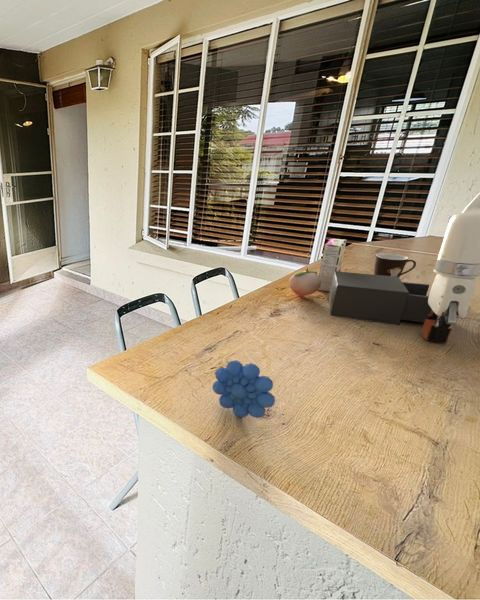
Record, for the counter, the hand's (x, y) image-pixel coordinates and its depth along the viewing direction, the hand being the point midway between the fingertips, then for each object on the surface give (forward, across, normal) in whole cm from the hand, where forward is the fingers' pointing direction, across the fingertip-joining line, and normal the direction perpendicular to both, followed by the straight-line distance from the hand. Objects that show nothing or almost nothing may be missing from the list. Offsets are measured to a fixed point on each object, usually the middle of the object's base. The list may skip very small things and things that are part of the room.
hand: (433, 336), depth 88 cm
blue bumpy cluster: (0, -51, +37) cm, 63 cm away
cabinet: (+1, +14, +13) cm, 19 cm away
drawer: (0, +14, +1) cm, 14 cm away
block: (0, 0, 0) cm, 0 cm away
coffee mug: (+1, +45, +2) cm, 45 cm away
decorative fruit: (+1, +20, +28) cm, 35 cm away
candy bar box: (+1, +34, +21) cm, 40 cm away
